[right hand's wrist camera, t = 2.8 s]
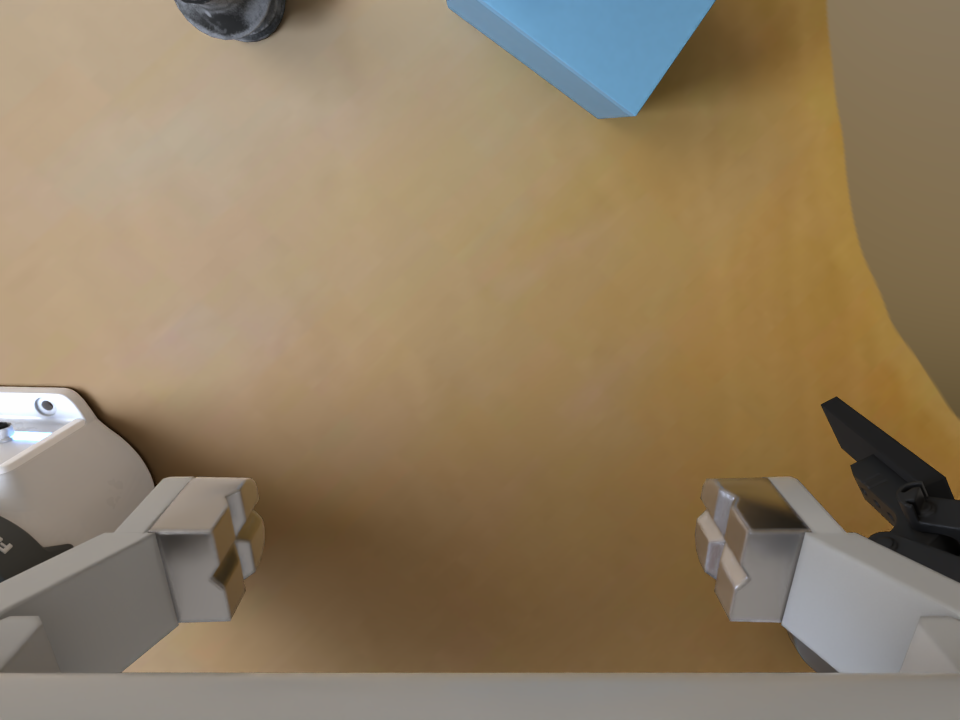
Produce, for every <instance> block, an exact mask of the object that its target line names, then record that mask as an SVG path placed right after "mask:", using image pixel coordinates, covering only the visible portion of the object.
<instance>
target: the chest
mask: <svg viewBox="0 0 960 720" xmlns="http://www.w3.org/2000/svg"><path fill="white" fill-rule="evenodd" d="M446 1H447V5H448V8H449V9H451V10H452V11H453V12H455V13H456V14H457V15H459V16H460V17H461V18H463V19H464V20H465V21H467V22H468V23H470V24H471V25H472V26H474V27H475V28H476V29H478V30H479V31H480V32H482V33H483V34H484V35H486V36H487V37H488V38H490V39H491V40H492V41H494V42H495V43H496V44H498V45H499V46H500V47H502V48H503V49H505V50H506V51H507V52H509V53H510V54H511V55H513V56H514V57H515V58H517V59H518V60H519V61H521V62H522V63H523V64H525V65H526V66H527V67H529V68H530V69H531V70H533V71H534V72H535V73H537V74H538V75H540V76H541V77H542V78H544V79H545V80H546V81H548V82H549V83H550V84H552V85H553V86H554V87H556V88H557V89H558V90H560V91H561V92H562V93H564V94H565V95H566V96H568V97H569V98H570V99H572V100H573V101H575V102H576V103H577V104H579V105H580V106H581V107H583V108H584V109H585V110H587V111H588V112H589V113H591V114H592V115H593V116H595V117H596V118H597V119H604V118H617V117H631V116H629V115H628V114H627V113H625V112H624V111H623V110H621V109H620V108H619V107H618V106H616V105H615V104H614V103H612V102H611V101H610V100H608V99H607V98H606V97H604V96H603V95H602V94H600V93H599V92H598V91H596V90H595V89H594V88H592V87H591V86H590V85H588V84H587V83H586V82H584V81H583V80H582V79H580V78H579V77H578V76H576V75H575V74H574V73H572V72H571V71H570V70H569V69H567V68H566V67H565V66H563V65H562V64H561V63H559V62H558V61H557V60H555V59H554V58H553V57H551V56H550V55H549V54H547V53H546V52H545V51H543V50H542V49H541V48H539V47H538V46H537V45H535V44H534V43H533V42H531V41H530V40H529V39H527V38H526V37H525V36H524V35H522V34H521V33H520V32H518V31H517V30H516V29H514V28H513V27H512V26H510V25H509V24H508V23H506V22H505V21H504V20H502V19H501V18H500V17H498V16H497V15H496V14H494V13H493V12H492V11H490V10H489V9H488V8H486V7H485V6H484V5H482V4H481V3H480V2H478V1H477V0H446Z"/></svg>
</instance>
